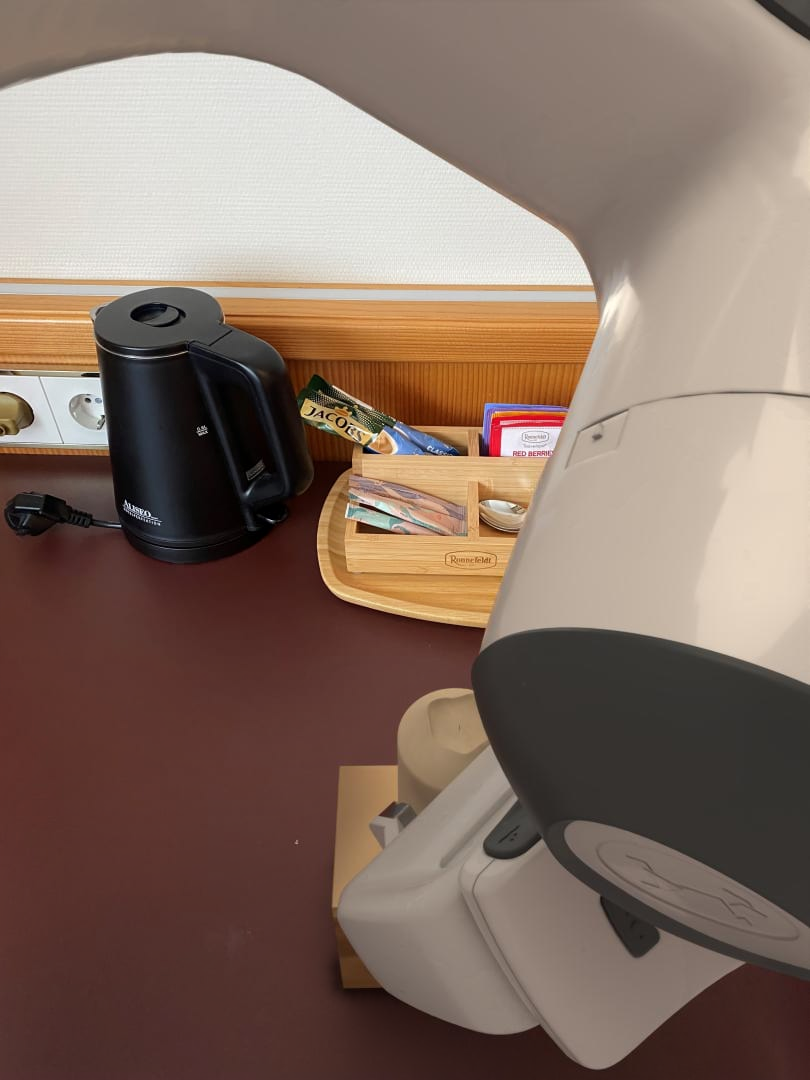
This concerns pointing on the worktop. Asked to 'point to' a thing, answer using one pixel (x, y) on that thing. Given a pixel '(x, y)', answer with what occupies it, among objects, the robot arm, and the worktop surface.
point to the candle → (437, 744)
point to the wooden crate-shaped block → (358, 848)
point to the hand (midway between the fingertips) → (459, 758)
